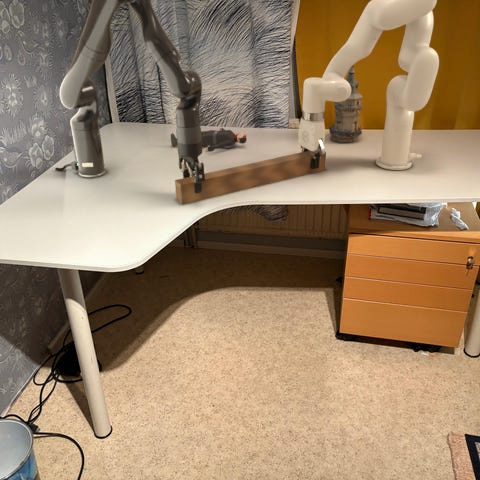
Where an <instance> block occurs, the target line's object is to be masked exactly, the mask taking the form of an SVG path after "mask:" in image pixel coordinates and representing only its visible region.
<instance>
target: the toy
mask: <svg viewBox="0 0 480 480" xmlns="http://www.w3.org/2000/svg"><path fill="white" fill-rule="evenodd" d="M176 130H177V128H176ZM201 136H202V146H207V147H204V148H203V151H204V152H205V153H209V152H210V153H211V152H213V151H215V150H217V149H221V148H226V149H229V148H233V147H234V146H235V145H236V144H237V143H238V144H241V145H244V144H245V143H247V139H248V138H247V134H245V133H241V132H240V133H234V132H233V131H232V130H231V129H224V128H223V127H219V130H214V129H209V130H204V131H202V130H201ZM170 143H171V146H172V147H173V148H174V147H178V146H177V136H176V135H175V133H173V132H171V134H170Z"/></svg>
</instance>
